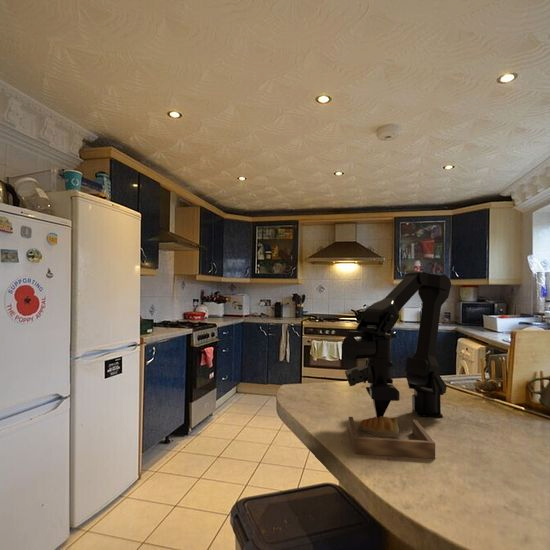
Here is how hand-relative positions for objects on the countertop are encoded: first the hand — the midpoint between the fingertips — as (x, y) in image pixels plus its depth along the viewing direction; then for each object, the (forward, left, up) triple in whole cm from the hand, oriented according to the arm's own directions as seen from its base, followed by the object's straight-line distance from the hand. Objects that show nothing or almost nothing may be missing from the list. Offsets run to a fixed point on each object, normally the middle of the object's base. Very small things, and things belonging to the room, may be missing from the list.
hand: (379, 419), depth 90 cm
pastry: (0, +4, -2) cm, 4 cm away
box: (0, +10, -2) cm, 10 cm away
